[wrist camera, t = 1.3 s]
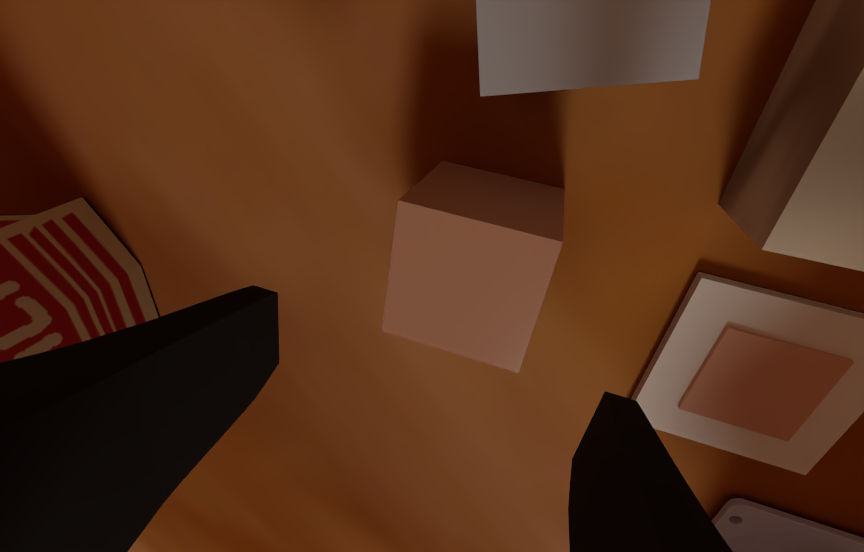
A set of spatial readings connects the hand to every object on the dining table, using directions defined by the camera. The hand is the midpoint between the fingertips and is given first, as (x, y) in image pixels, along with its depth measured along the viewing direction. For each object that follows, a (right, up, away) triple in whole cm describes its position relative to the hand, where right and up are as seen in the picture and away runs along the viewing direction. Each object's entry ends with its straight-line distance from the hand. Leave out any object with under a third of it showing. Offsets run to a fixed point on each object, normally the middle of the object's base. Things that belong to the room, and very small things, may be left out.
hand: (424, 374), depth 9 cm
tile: (+12, -2, +7) cm, 14 cm away
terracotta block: (+2, +4, +8) cm, 9 cm away
